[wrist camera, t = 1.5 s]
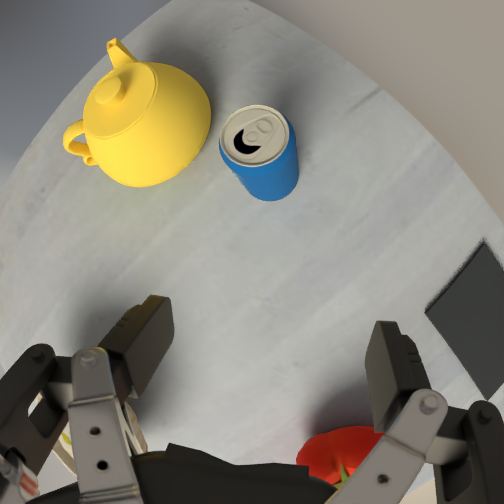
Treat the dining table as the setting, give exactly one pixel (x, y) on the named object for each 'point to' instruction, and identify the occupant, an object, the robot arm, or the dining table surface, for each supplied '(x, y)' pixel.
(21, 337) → the dining table surface
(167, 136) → the teapot
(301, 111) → the dining table surface
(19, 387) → the robot arm
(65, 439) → the bowl
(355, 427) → the tomato
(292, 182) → the beverage can
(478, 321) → the place mat
